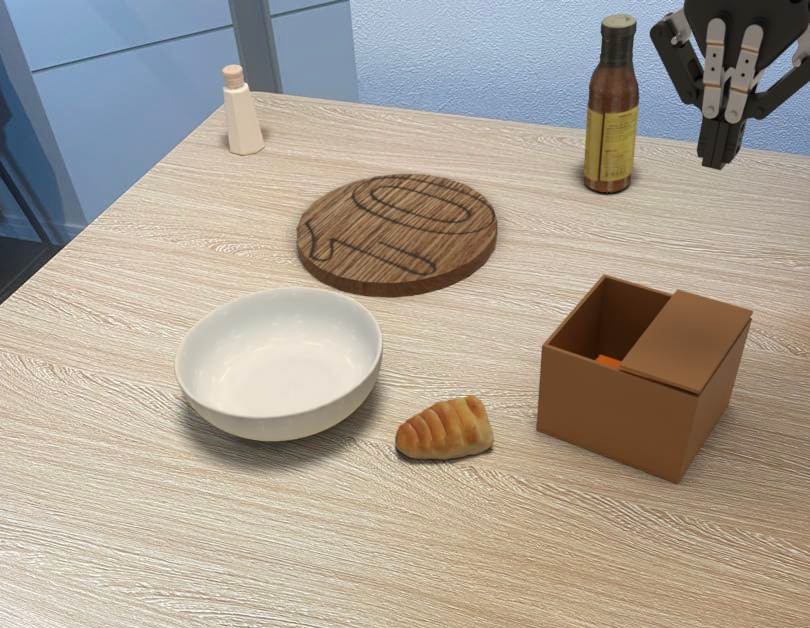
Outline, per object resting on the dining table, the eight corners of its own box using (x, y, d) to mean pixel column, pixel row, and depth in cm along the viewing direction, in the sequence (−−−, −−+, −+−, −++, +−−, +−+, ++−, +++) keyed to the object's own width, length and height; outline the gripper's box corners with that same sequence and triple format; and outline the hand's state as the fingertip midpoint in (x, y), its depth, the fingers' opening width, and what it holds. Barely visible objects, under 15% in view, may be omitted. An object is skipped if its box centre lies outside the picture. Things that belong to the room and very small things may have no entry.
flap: (752, 314, 83) (753, 310, 83) (698, 394, 77) (699, 390, 76) (676, 292, 86) (677, 288, 86) (618, 367, 80) (619, 364, 79)
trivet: (432, 319, 103) (431, 305, 102) (258, 263, 113) (255, 250, 111) (532, 213, 116) (532, 199, 115) (368, 171, 126) (367, 158, 125)
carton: (728, 404, 91) (752, 317, 83) (677, 484, 85) (698, 398, 77) (593, 358, 97) (603, 273, 89) (536, 430, 91) (541, 345, 83)
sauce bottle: (638, 177, 121) (661, 14, 106) (618, 199, 117) (639, 34, 102) (592, 166, 123) (608, 6, 108) (572, 188, 120) (585, 25, 105)
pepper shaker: (224, 155, 132) (207, 76, 123) (234, 137, 135) (218, 59, 127) (260, 156, 131) (245, 76, 122) (270, 138, 134) (256, 59, 126)
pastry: (408, 476, 88) (405, 447, 85) (386, 431, 92) (383, 402, 89) (499, 450, 89) (499, 421, 86) (474, 408, 93) (474, 379, 90)
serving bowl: (299, 314, 105) (290, 262, 100) (429, 393, 95) (426, 339, 90) (150, 404, 97) (131, 351, 91) (274, 502, 86) (261, 449, 81)
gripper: (645, -101, 57) (613, 166, 70) (864, -75, 52) (785, 208, 65) (692, -134, 61) (653, 125, 74) (900, -113, 55) (819, 161, 69)
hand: (715, 163), depth 69 cm, fingers closed
